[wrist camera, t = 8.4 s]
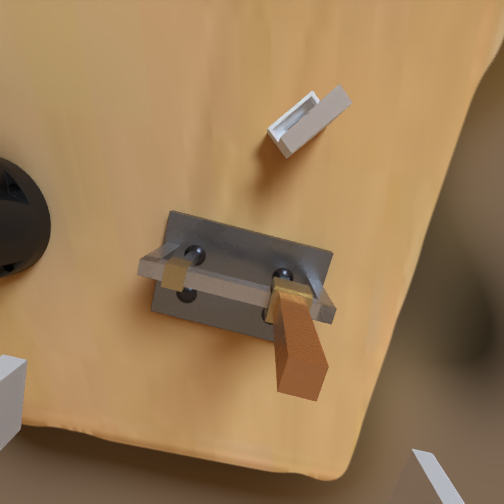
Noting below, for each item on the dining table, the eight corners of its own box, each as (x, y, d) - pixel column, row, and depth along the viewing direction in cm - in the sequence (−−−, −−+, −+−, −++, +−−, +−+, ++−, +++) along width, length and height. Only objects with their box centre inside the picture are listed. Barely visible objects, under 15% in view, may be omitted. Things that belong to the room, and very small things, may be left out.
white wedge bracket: (366, 93, 31) (352, 102, 25) (294, 153, 38) (267, 173, 31) (346, 62, 31) (326, 64, 24) (276, 128, 37) (244, 144, 31)
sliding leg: (264, 289, 37) (265, 397, 18) (272, 261, 36) (281, 344, 17) (293, 296, 37) (323, 412, 18) (301, 268, 37) (342, 360, 18)
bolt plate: (153, 306, 40) (150, 311, 39) (172, 210, 37) (169, 211, 36) (301, 344, 40) (302, 349, 39) (331, 251, 38) (333, 253, 36)
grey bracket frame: (165, 257, 37) (134, 280, 29) (168, 238, 37) (139, 255, 28) (315, 296, 38) (330, 330, 29) (321, 278, 37) (338, 306, 28)
